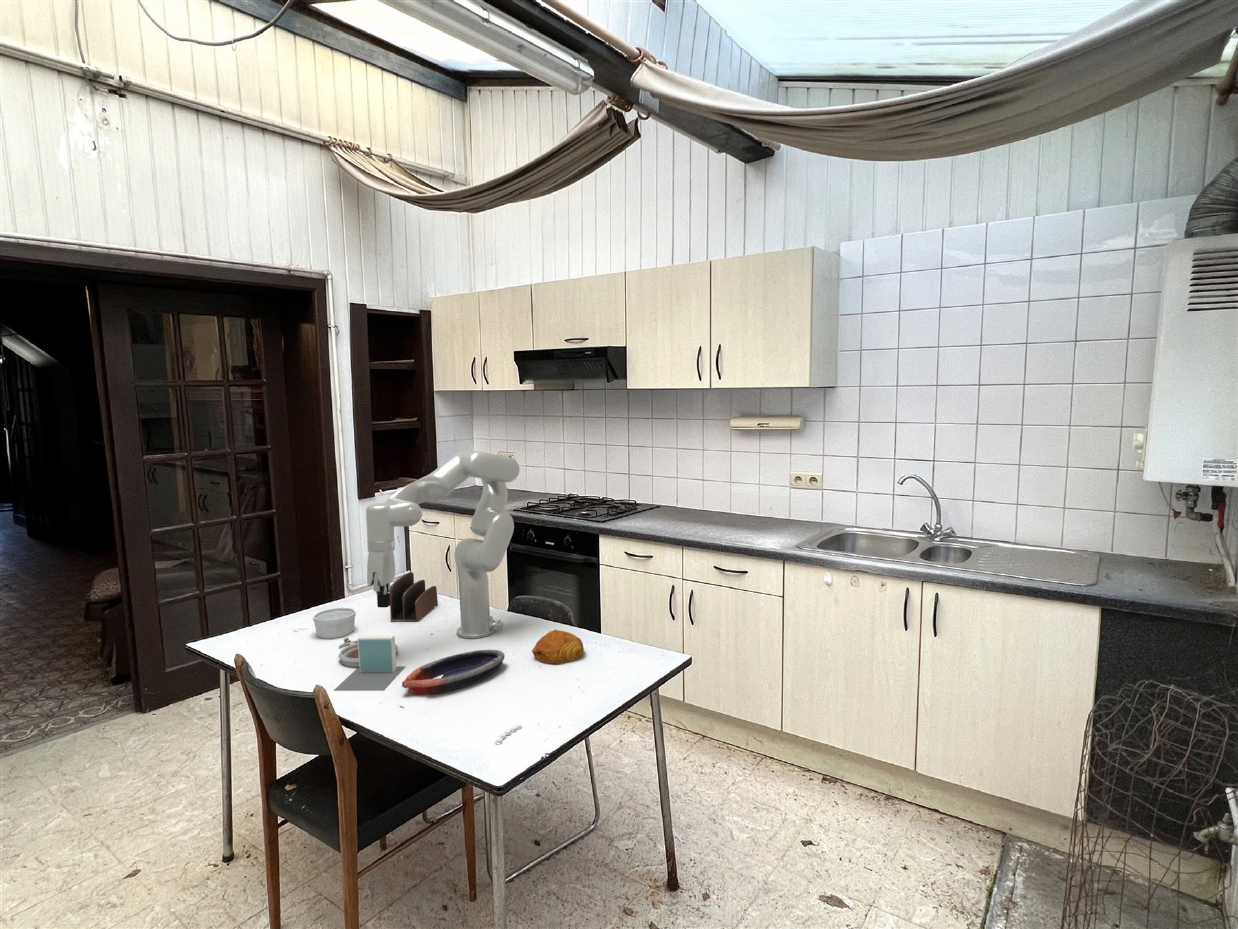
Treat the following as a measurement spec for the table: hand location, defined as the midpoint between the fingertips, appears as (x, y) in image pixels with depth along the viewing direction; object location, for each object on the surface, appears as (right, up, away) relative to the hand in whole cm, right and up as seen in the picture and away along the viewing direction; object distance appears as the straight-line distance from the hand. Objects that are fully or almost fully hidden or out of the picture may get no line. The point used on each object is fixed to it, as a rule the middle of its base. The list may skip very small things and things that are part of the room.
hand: (383, 606), depth 200 cm
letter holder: (-5, -13, +46) cm, 48 cm away
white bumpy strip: (+44, -22, -44) cm, 66 cm away
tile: (0, -17, -6) cm, 18 cm away
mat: (0, -18, -11) cm, 21 cm away
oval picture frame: (-10, -16, +9) cm, 21 cm away
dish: (+24, -18, -12) cm, 33 cm away
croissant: (+51, -16, +3) cm, 54 cm away
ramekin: (-26, -15, +28) cm, 41 cm away
